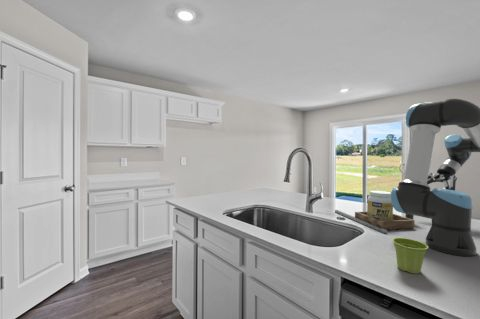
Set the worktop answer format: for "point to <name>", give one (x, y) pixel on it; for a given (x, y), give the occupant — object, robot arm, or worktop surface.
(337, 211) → the rail
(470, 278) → the worktop surface
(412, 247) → the plant pot
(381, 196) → the supplement tub
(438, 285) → the worktop surface
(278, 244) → the worktop surface
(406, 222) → the wooden tray
